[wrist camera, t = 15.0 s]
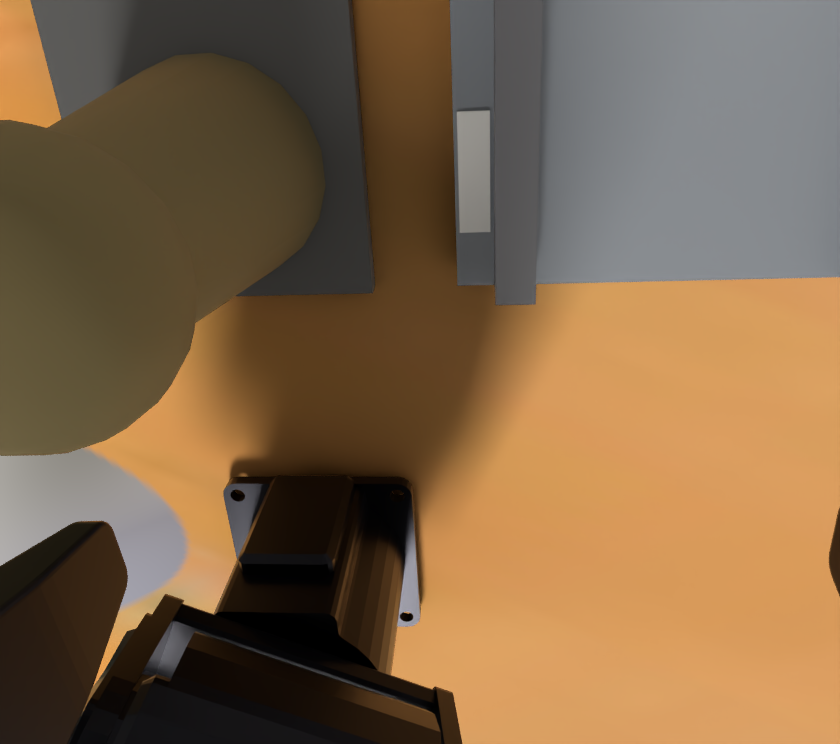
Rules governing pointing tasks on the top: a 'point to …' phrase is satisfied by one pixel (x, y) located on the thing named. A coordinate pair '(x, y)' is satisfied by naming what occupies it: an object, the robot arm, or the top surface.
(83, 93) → the rubber pad
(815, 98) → the grey slide rail tray
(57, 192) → the cork
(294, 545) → the robot arm
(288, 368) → the top surface
